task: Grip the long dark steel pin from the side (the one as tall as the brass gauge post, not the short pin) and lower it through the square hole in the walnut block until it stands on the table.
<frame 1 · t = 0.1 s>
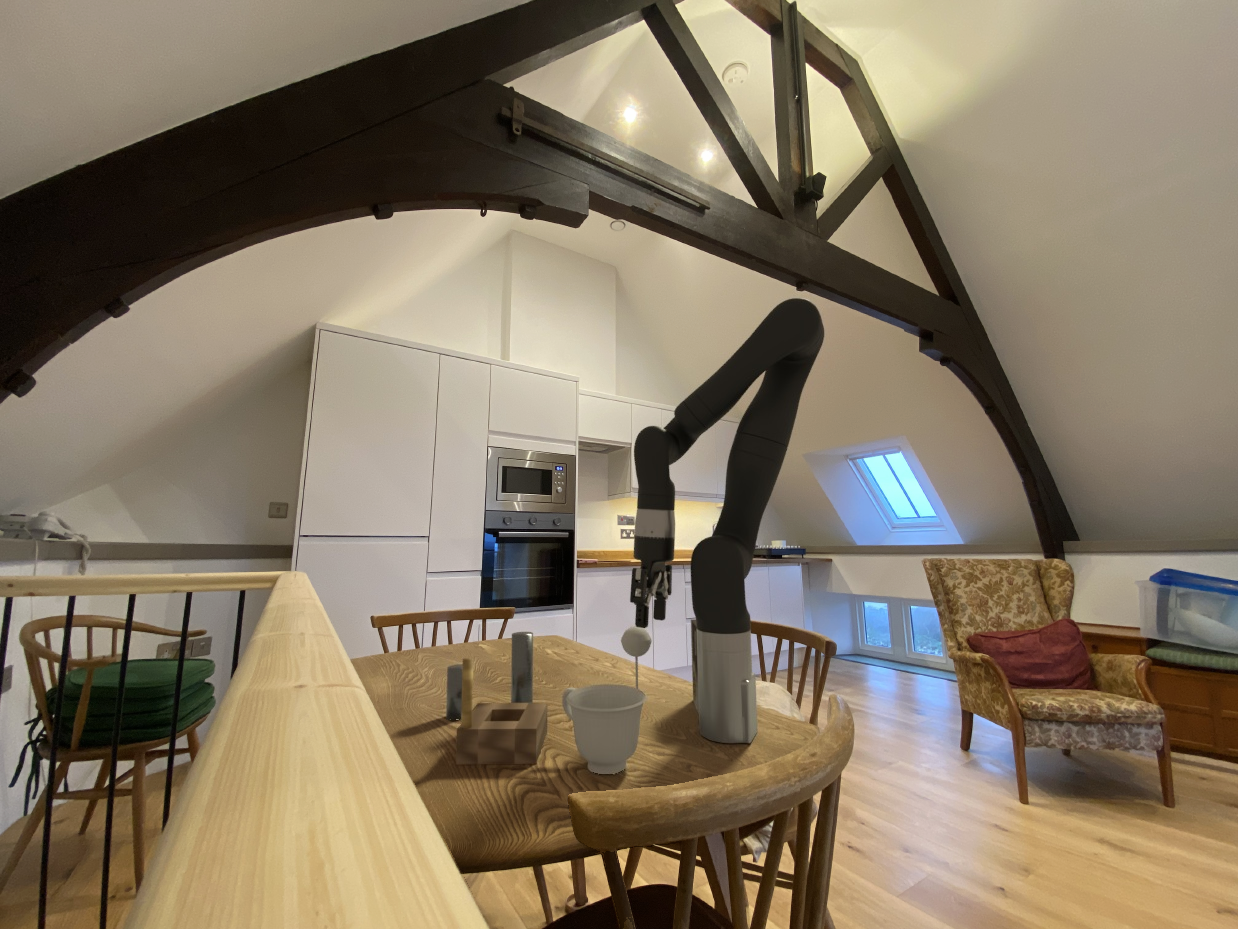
hand: (650, 623, 98), 17 cm above the table, tool pointing down, fingers open, 8 cm apart
teacup: (599, 765, 80), on the table
short pin: (457, 716, 100), on the table
coffee box: (711, 708, 104), on the table
hole block: (504, 747, 86), on the table
long pin: (521, 716, 100), on the table
lollipop: (637, 705, 107), on the table
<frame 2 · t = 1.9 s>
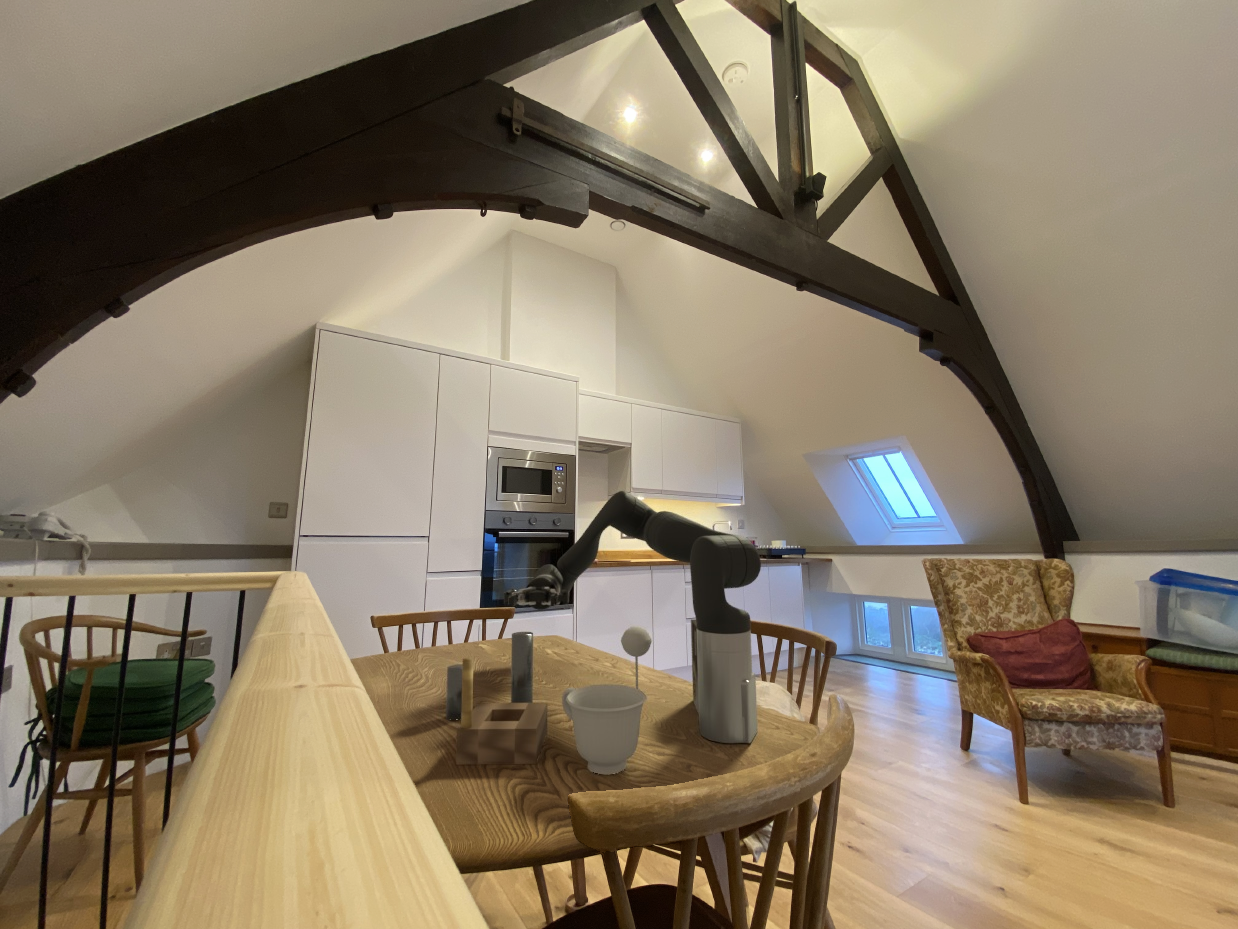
hand: (532, 601, 114), 19 cm above the table, tool horizontal, fingers open, 8 cm apart
nothing on the table moved.
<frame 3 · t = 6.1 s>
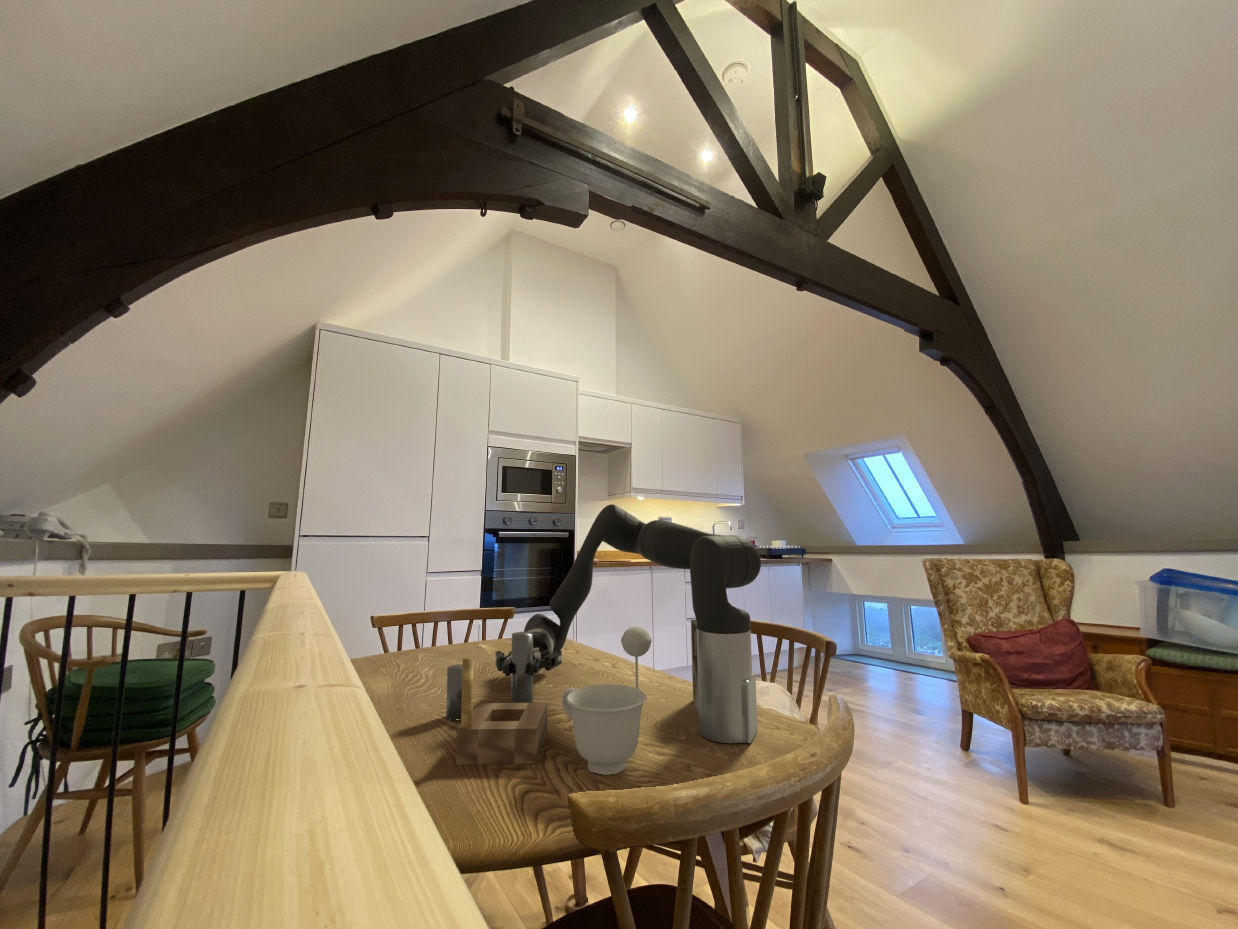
hand: (519, 670, 99), 9 cm above the table, tool horizontal, fingers closed on long pin, 4 cm apart
long pin: (521, 716, 100), on the table, touching gripper
everything else where it was.
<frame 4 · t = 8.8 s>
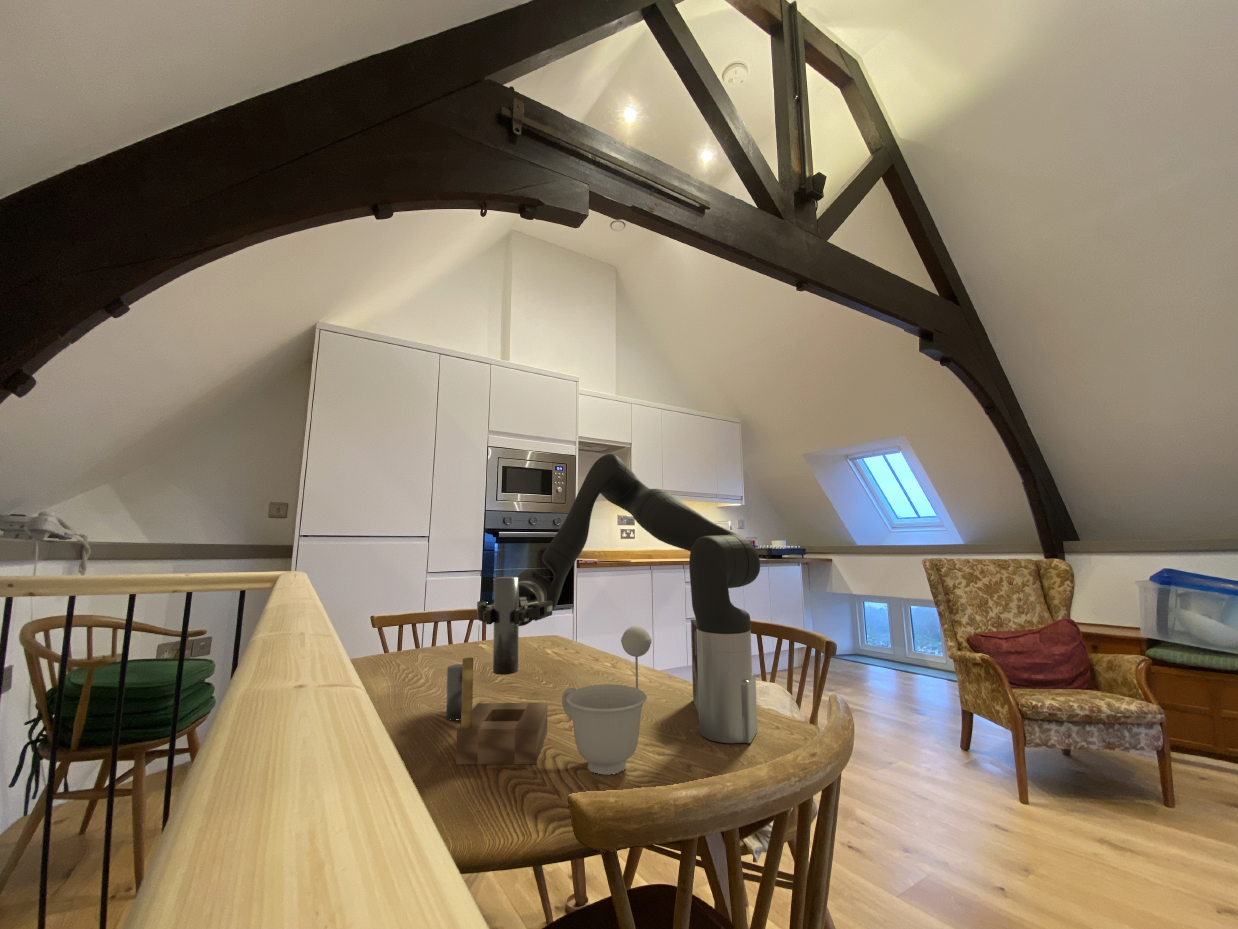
hand: (502, 617, 86), 21 cm above the table, tool horizontal, fingers closed on long pin, 4 cm apart
long pin: (505, 671, 88), point 12 cm above the table, touching gripper
everything else where it was.
when the fingers open (10 cm above the table, at t = 11.6 s): long pin drops 1 cm, resting in hole block.
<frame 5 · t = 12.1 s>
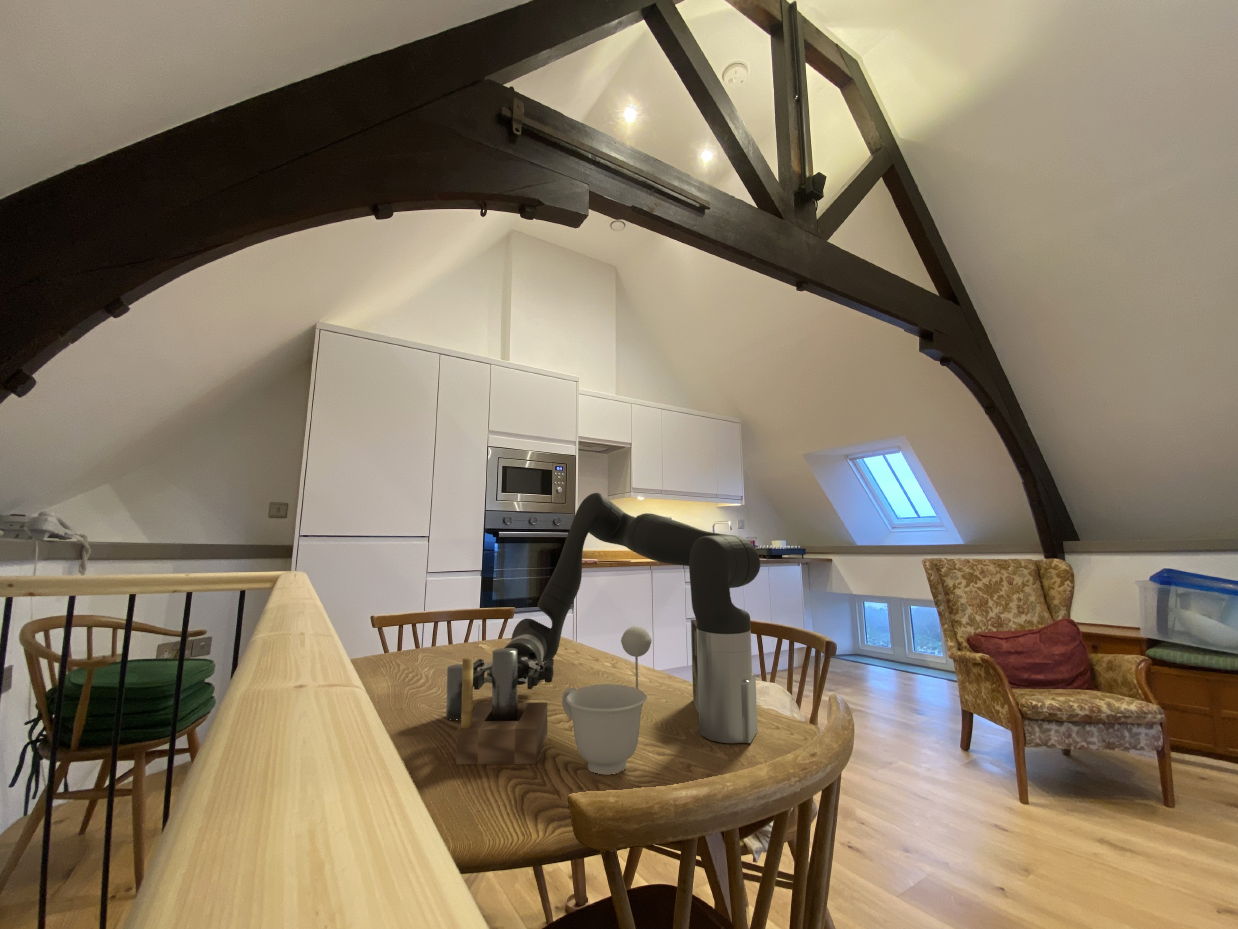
hand: (503, 683, 85), 11 cm above the table, tool horizontal, fingers open, 8 cm apart
long pin: (504, 747, 86), resting in hole block
everything else where it was.
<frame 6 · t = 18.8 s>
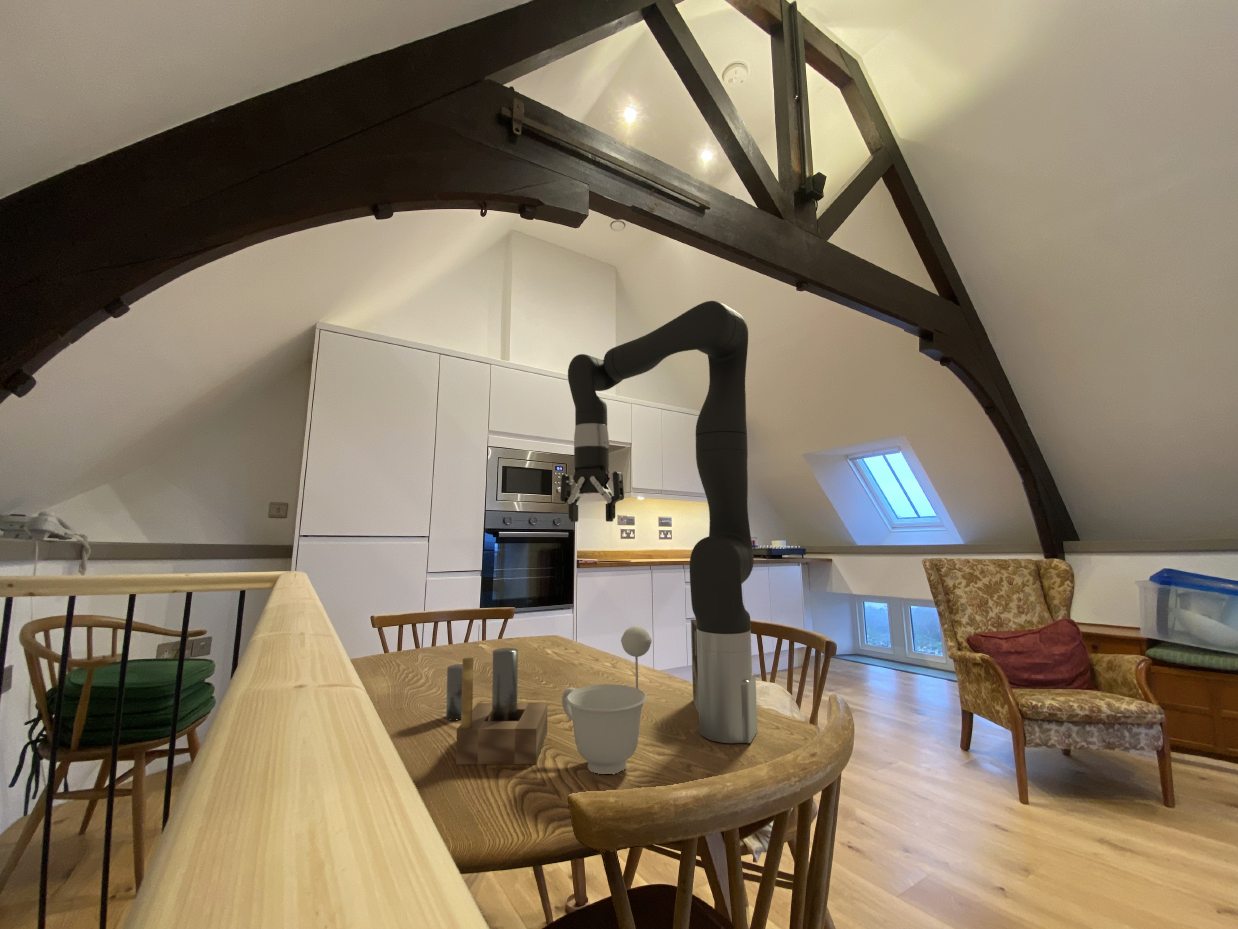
hand: (591, 521, 115), 36 cm above the table, tool pointing down, fingers open, 8 cm apart
nothing on the table moved.
at the end: long pin 0.1 cm off-centre on the hole block, point 0.0 cm above the hole block's base; long pin tilted 1°; short pin moved 0.0 cm from its start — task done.
